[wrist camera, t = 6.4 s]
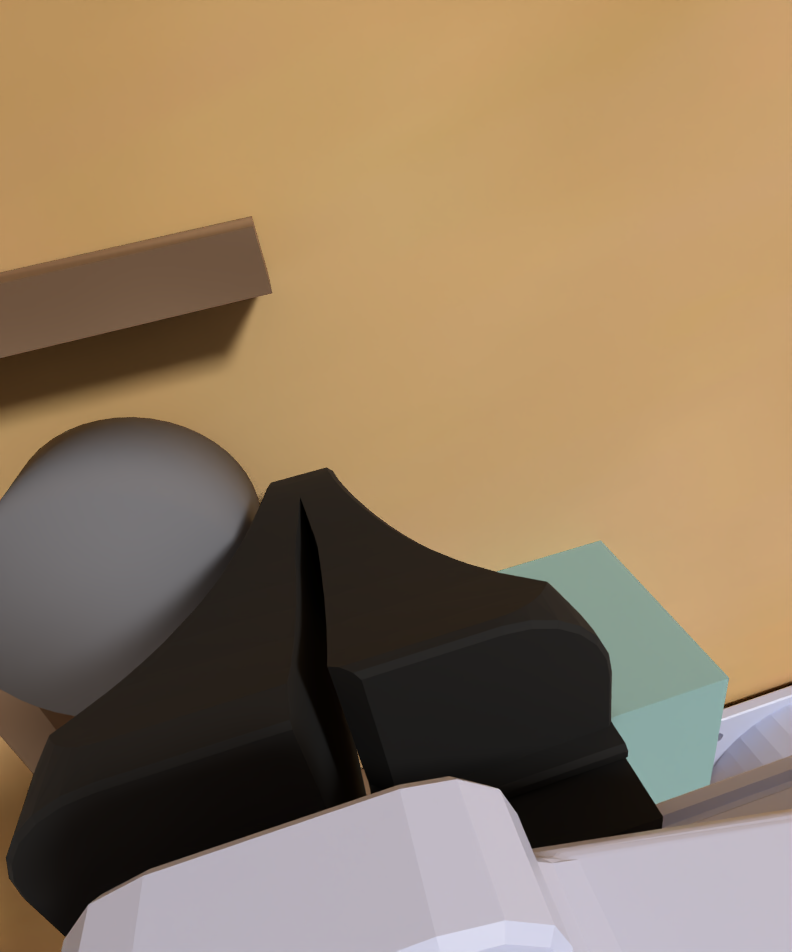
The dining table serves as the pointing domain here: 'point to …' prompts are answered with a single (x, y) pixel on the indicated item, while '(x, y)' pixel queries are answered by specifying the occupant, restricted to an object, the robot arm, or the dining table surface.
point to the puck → (110, 553)
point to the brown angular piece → (109, 309)
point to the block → (644, 669)
